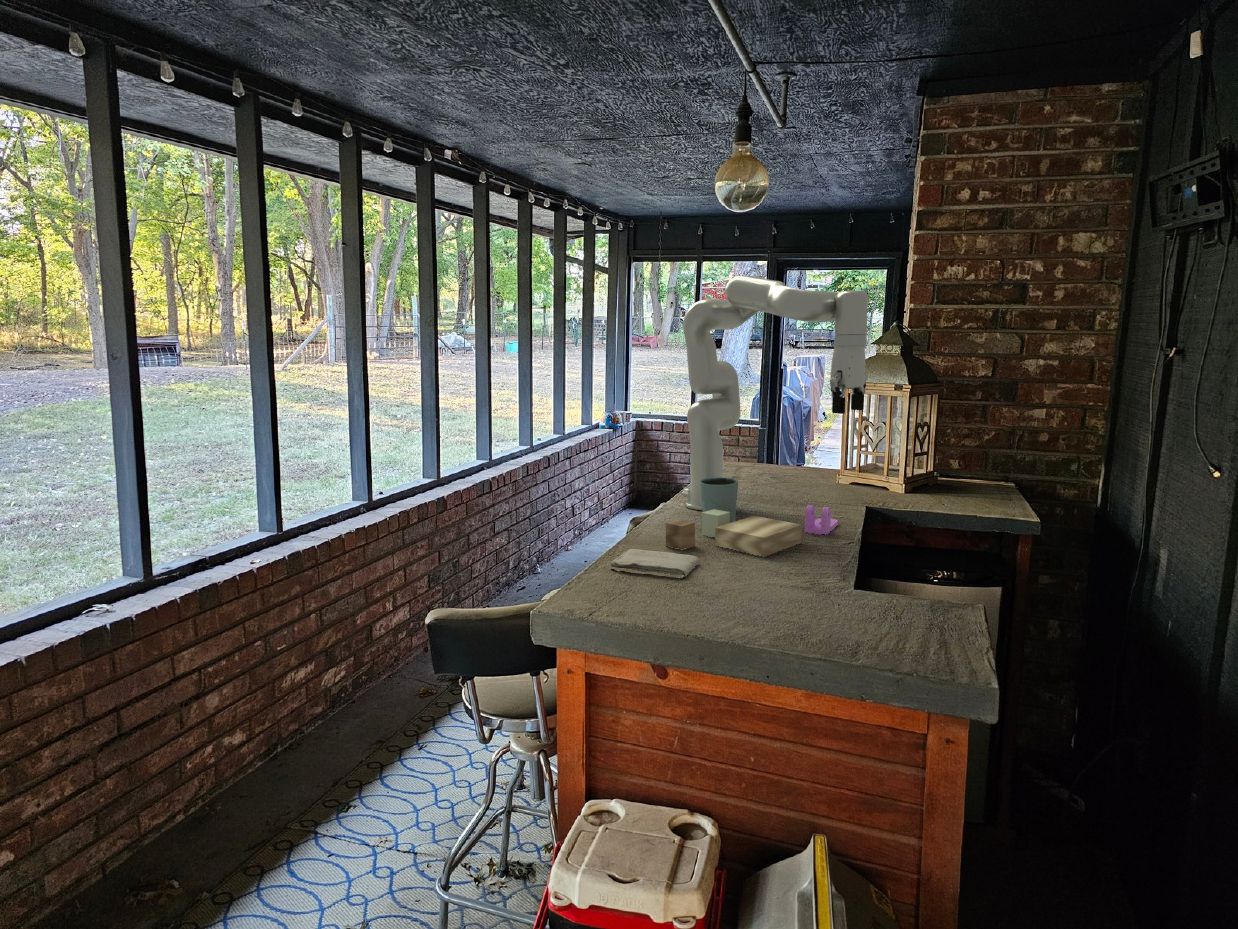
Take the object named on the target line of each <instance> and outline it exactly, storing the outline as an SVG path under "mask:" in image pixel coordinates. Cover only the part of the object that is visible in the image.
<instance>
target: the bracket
mask: <svg viewBox="0 0 1238 929" xmlns="http://www.w3.org/2000/svg"><path fill="white" fill-rule="evenodd" d="M815 511H816V508H815V505H812V504H808V505H806V507H805V512H804V533H805V532H808V533H807V534H812V533H814V534H813V535H821V534H825V535H824V536H827V535H828V534H829V533H831V532H832V531H833V530H835V529H836V528H837V527H838V526H837V525H839V524H838V521H839V520H837V519H836V518H832V516H831V515H832V511H831V507H829V506H823V507H822V509H821V515H820V517H819V518H816V519H815V517H816V516H815V515H816V514H815V513H816V512H815ZM836 526H837V527H836ZM835 527H836V528H835ZM830 531H831V532H830ZM826 534H827V535H826Z"/></svg>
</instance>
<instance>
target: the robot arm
mask: <svg viewBox="0 0 1238 929" xmlns="http://www.w3.org/2000/svg"><path fill="white" fill-rule="evenodd" d="M724 294H725V297H726V299H720V298H719V299H718V298H709V299H701V300H698V301H696V302H694V303H693V304H691V305H690V306H689V308H688V309H687V311H686V312H685V314H684V316H683V317H684V318H683V323H682V326H683V327H682V328H683V335H684V339H685V346H686V359H687V360H686V361H687V370H688V380H689V388H690V389H691V391H692V392H693V393H694V394H696V395H702V396H703V395H706V396H707V395H712V398H705V399H701V400H697V401H695V402H694V403H692V404H691V405H690V407H689V409H688V410H687V414H686V415H687V416H686V419H687V420H686V421H687V426H688V433H689V440H690V441H689V444H690V445H689V446H690V447H689V448H690V451H689V452H690V453H689V454H690V488H684V489H683V491H682V492H681V496H683V497H687V500H685V503H684V504H685V507H686V508H688V509H691V510H699V511H703V510H702V499H701V489H700V481H701V480H703V479H706V478H714V477H724V445H723V440H722V438H721V435H720V432H719V431H723V430H729V429H731V428H734V427H735V426H736V425H737V424H738V422H739V420H740V418H741V396H740V385H739V377H738V372H737V371H736V369H735V366H733V365H732V363H730V362H728V361H725V360H718V354H717V346H716V342H715V339H714V337H713V336H712V334H711V331H712V330H713V331H714V330H718V331H719V330H721V331H722V330H734V329H736V328H738V327H740V326H742V325H743V324H744V323H746V322H748V320H750V319H751V318H753V316H755V315H756V314H757V313H758V312H763V313H767V314H771V315H774V316H778V317H780V318H781V317H782V318H786V319H790V320H791V319H792V320H794V321H795V320H796V321H800V322H801V321H802V322H806V323H831V322H834V346H833V347H834V349H833V352H832V356H831V358H832V359H831V369H830V377H829V378H830V380H829V386H830V392H831V398H832V399H831V400H832V401H831V402H832V405H831V413H832V414H839V415H844V414H845V413H846V397H845V394H846V392H847V390H851V391H852V393H851V396H850V410H851V411H863V410H864V408H865V407H864V406H865V404H864V403H865V395H866V390H865V389H866V388H867V381H868V375H866V370H867V369H866V366H867V365H866V348H867V333H868V313H869V312H868V311H869V310H868V308H869V305H868V304H869V295H868V293H867V292H866V291H864V290H842V291H839V292H836V291H825V290H823V291H822V290H807V289H800V288H796V287H789V286H786V284H785V283H784V282H782V281H780V280H773V279H767V278H765V277H762V276H759V275H758V276H757V275H744V274H741V275H736V276H734V277H732V278H730V279H729V281H727V283H726V286H725V288H724Z"/></svg>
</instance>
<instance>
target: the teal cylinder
mask: <svg viewBox="0 0 1238 929" xmlns="http://www.w3.org/2000/svg"><path fill="white" fill-rule="evenodd" d="M700 489H701V499H702V510H701V511H702V512H701V514H702V513H703V512H706V511H710V510H713V509H716V510H721V511H726V512H730V523H732V522H735V521H736V515H737V502H738V501H737V499H738V491H739V490H738V489H739V480H737V479H736V478H731V477H725V476H723V477H714V478H706V479H703V480H701V481H700Z"/></svg>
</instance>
